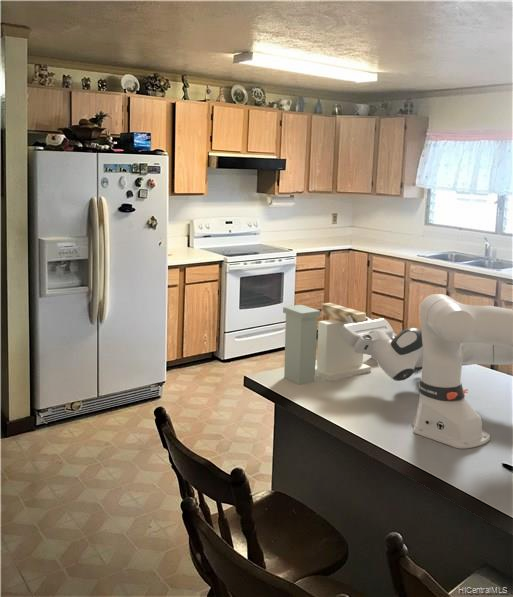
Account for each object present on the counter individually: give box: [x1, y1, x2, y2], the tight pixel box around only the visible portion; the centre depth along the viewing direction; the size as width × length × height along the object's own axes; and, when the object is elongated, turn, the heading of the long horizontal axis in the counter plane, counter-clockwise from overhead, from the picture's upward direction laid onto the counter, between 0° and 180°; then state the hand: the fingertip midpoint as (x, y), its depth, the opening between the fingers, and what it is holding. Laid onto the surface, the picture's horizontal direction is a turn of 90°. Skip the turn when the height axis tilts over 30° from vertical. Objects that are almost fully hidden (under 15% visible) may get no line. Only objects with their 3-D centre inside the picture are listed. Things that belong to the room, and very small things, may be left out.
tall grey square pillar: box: [282, 304, 321, 385], centre depth 227 cm, size 11×8×26 cm
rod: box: [320, 302, 367, 323], centre depth 234 cm, size 20×4×4 cm, turn 33°
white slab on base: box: [315, 318, 372, 382], centre depth 237 cm, size 12×20×20 cm, turn 123°
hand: (354, 316), depth 229 cm, fingers closed on rod, 4 cm apart
